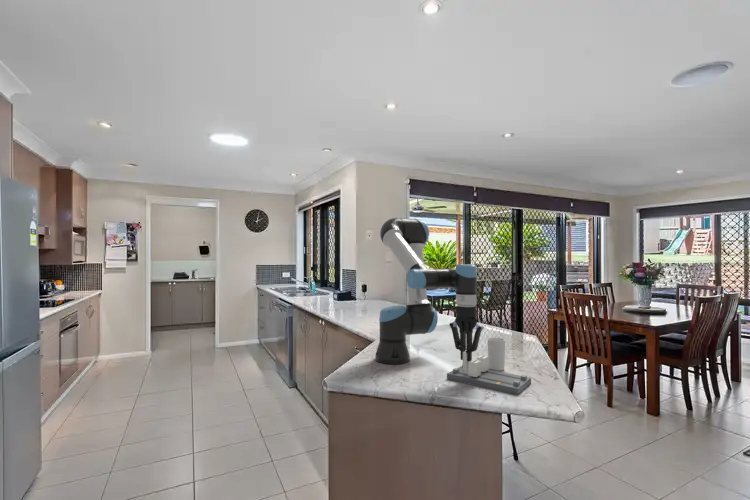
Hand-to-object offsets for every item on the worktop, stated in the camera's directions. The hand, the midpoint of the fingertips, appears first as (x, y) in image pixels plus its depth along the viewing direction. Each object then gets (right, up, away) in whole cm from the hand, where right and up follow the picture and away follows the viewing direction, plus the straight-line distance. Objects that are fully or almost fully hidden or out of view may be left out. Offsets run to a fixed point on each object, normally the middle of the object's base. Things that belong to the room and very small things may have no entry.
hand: (466, 369), depth 139 cm
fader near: (+3, -2, -2) cm, 4 cm away
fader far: (+7, -2, +5) cm, 9 cm away
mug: (+17, -5, +16) cm, 24 cm away
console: (+8, -4, -1) cm, 9 cm away
